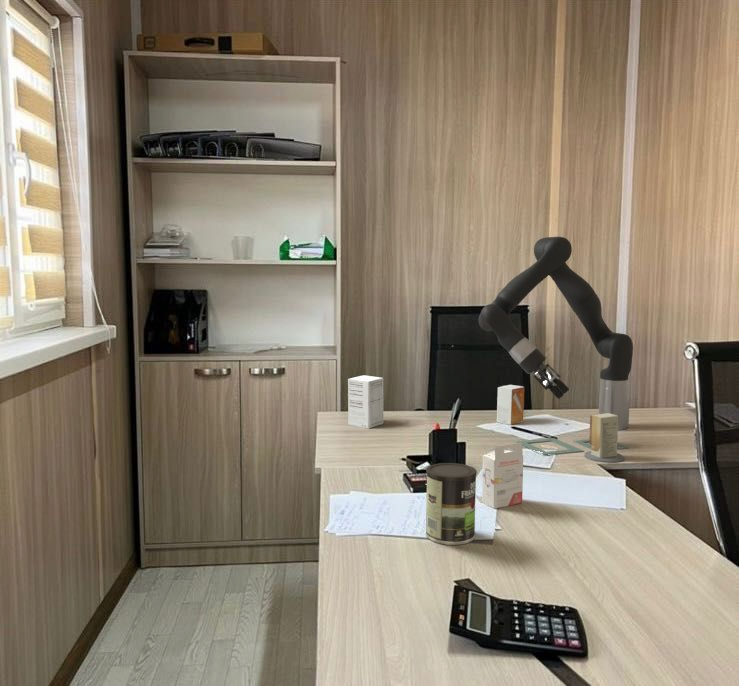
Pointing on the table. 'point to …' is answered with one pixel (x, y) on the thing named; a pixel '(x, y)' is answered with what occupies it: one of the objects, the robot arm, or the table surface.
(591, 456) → the felt coaster
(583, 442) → the frame
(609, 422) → the skincare box
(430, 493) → the coffee can
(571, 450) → the frame
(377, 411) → the supplement box
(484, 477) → the ink cartridge box
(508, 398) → the small box
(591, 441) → the walnut block
